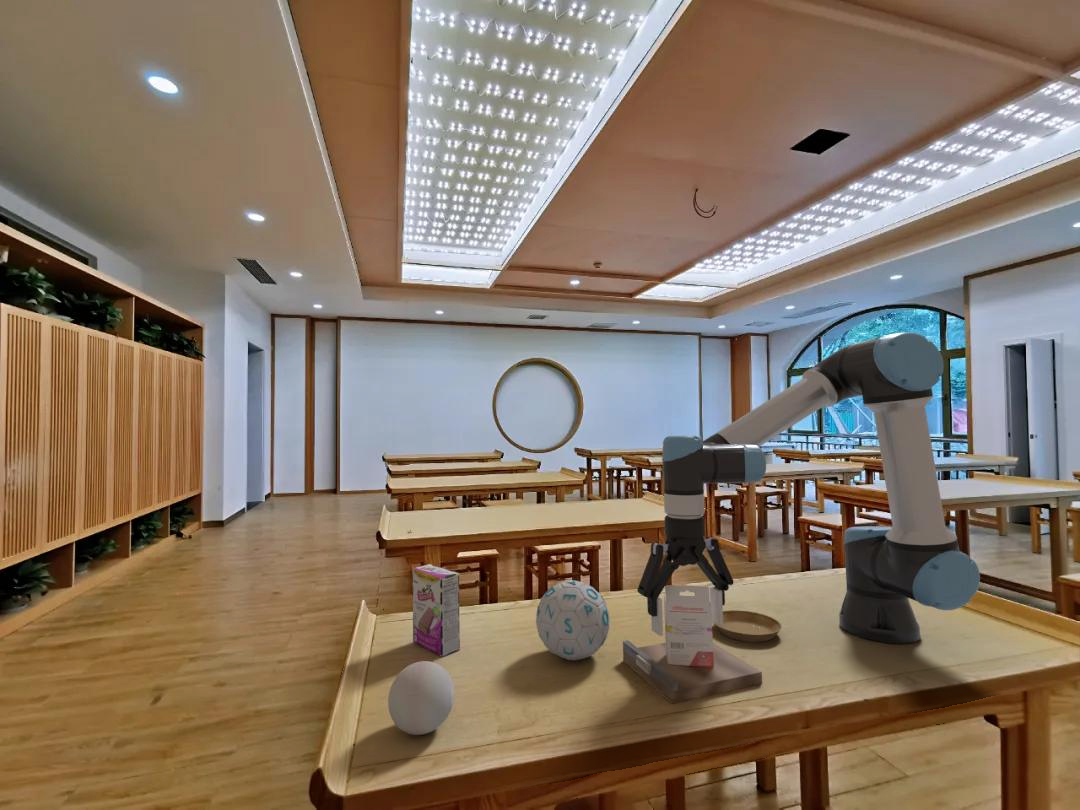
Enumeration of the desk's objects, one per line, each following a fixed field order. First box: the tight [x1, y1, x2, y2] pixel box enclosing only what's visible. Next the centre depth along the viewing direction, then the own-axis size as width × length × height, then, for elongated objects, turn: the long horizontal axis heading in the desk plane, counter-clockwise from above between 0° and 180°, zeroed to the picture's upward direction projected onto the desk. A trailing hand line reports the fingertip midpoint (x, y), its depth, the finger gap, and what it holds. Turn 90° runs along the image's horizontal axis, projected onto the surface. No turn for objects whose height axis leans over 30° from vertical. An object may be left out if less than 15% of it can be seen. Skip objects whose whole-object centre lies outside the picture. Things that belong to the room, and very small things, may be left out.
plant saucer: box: [712, 609, 783, 643], centre depth 114 cm, size 15×15×3 cm
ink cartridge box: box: [663, 584, 714, 667], centre depth 97 cm, size 9×5×15 cm, turn 78°
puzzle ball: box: [535, 579, 610, 661], centre depth 104 cm, size 15×15×15 cm
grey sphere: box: [387, 660, 455, 736], centre depth 79 cm, size 10×10×10 cm
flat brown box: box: [622, 640, 763, 704], centre depth 96 cm, size 20×17×4 cm
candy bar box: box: [411, 563, 461, 657], centre depth 110 cm, size 11×5×16 cm, turn 47°
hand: (687, 627), depth 97 cm, fingers open, 13 cm apart
